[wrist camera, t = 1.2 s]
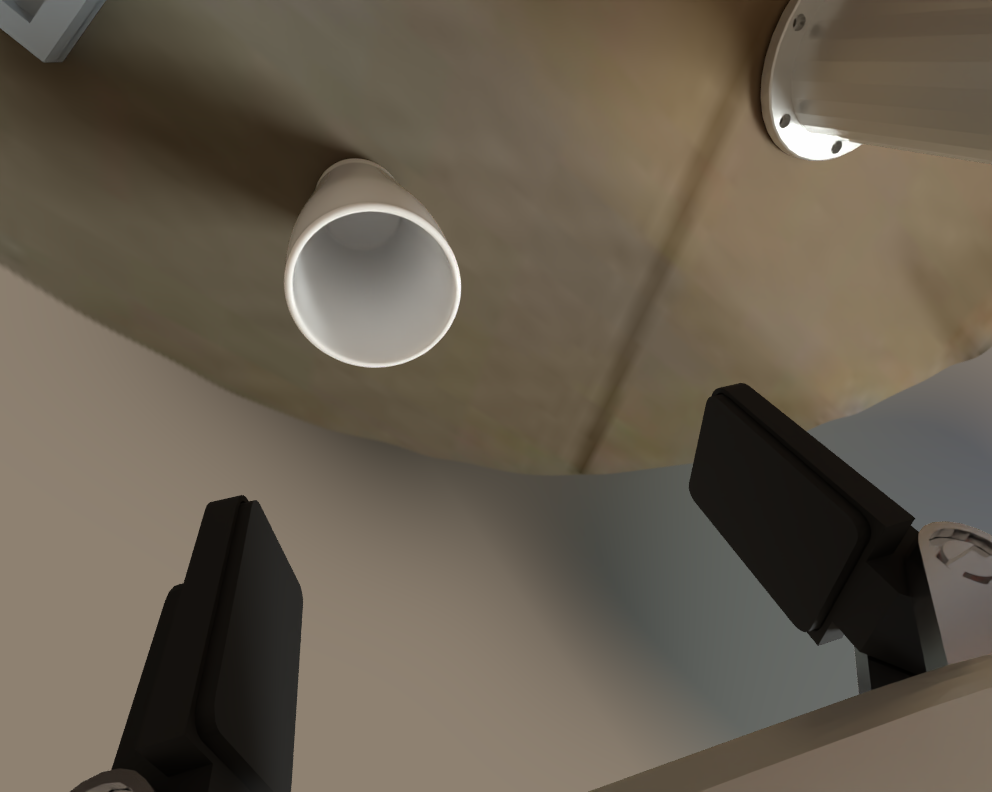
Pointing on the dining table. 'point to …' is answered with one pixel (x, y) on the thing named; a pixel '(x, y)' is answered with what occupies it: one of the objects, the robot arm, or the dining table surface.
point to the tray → (47, 24)
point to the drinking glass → (369, 269)
